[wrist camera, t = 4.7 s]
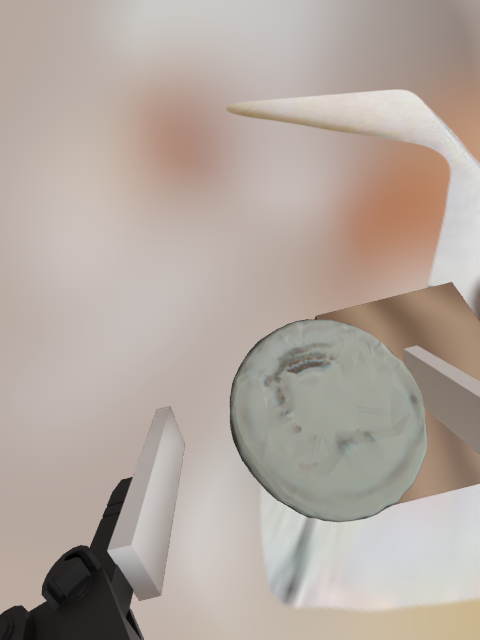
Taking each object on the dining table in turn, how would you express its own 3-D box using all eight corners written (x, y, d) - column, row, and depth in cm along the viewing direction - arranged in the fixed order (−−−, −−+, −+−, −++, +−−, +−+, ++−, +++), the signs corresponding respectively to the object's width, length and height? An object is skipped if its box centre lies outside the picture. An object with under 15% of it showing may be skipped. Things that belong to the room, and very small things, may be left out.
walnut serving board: (382, 501, 20) (391, 505, 19) (313, 322, 27) (315, 315, 26) (556, 458, 20) (576, 459, 19) (442, 289, 27) (451, 282, 26)
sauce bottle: (257, 381, 25) (227, 240, 7) (323, 398, 24) (480, 275, 6) (240, 454, 23) (128, 508, 5) (312, 477, 21) (523, 664, 4)
